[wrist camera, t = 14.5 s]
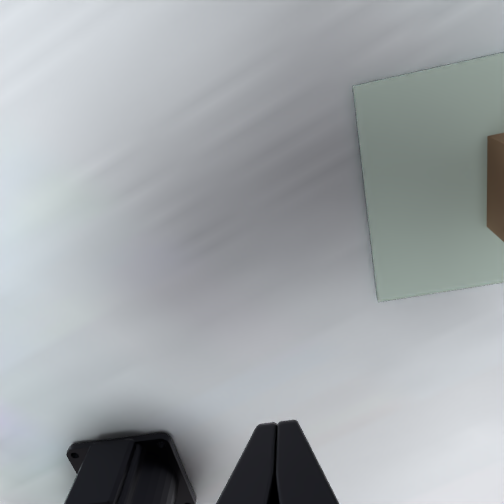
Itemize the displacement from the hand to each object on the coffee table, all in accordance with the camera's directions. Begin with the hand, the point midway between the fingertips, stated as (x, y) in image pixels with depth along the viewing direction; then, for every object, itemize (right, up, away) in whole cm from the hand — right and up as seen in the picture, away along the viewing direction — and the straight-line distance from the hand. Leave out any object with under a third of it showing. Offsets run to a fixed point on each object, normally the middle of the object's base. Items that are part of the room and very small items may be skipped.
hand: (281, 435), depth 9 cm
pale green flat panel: (+11, +7, +9) cm, 16 cm away
